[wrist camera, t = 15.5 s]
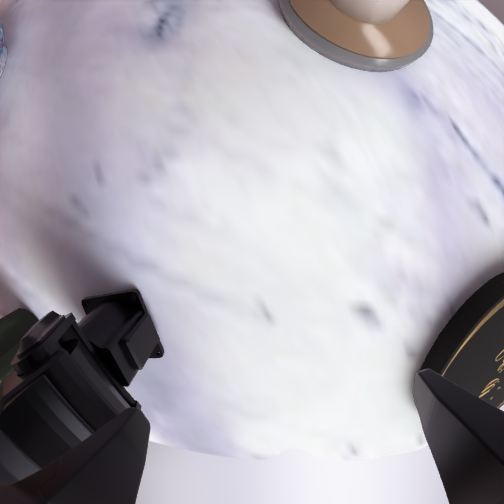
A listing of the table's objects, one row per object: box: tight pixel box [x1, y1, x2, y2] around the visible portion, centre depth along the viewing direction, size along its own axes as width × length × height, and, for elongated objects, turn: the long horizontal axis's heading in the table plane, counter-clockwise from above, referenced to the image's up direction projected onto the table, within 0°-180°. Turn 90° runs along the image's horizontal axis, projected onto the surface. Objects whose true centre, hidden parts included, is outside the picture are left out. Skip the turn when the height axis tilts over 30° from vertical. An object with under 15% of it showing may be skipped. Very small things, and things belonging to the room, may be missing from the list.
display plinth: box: [279, 0, 433, 72], centre depth 13 cm, size 12×12×2 cm
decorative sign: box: [415, 273, 504, 409], centre depth 20 cm, size 29×3×25 cm
